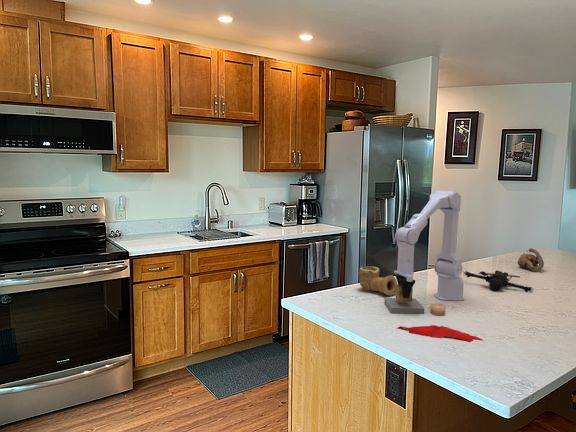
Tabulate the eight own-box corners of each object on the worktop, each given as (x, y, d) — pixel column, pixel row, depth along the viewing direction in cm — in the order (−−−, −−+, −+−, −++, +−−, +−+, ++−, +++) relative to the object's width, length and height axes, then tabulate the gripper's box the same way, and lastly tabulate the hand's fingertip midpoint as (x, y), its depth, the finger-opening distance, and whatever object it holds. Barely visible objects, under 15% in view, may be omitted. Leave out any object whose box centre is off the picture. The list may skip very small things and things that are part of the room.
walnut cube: (408, 297, 162) (409, 284, 162) (412, 301, 157) (412, 288, 157) (395, 297, 163) (395, 284, 162) (398, 301, 158) (398, 288, 157)
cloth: (487, 337, 135) (487, 330, 135) (480, 352, 124) (480, 345, 123) (405, 320, 149) (406, 314, 149) (392, 333, 137) (393, 326, 137)
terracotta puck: (442, 311, 158) (442, 303, 157) (446, 316, 153) (447, 308, 152) (428, 311, 158) (428, 303, 157) (432, 315, 153) (432, 307, 152)
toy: (469, 272, 217) (458, 283, 191) (471, 259, 216) (461, 268, 190) (533, 289, 202) (531, 302, 177) (536, 274, 201) (535, 286, 176)
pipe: (386, 298, 172) (387, 274, 171) (353, 290, 184) (354, 267, 183) (398, 294, 179) (399, 271, 178) (365, 286, 190) (366, 264, 189)
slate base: (415, 303, 166) (415, 298, 166) (424, 313, 154) (424, 308, 154) (384, 303, 166) (384, 298, 166) (390, 313, 155) (391, 307, 154)
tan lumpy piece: (520, 273, 234) (540, 274, 219) (508, 263, 234) (527, 264, 219) (533, 255, 236) (553, 255, 221) (521, 246, 236) (540, 245, 221)
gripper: (390, 255, 166) (389, 289, 167) (399, 263, 151) (397, 301, 153) (409, 256, 166) (407, 290, 167) (419, 264, 151) (417, 301, 153)
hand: (404, 295), depth 160 cm, fingers closed on walnut cube, 5 cm apart
